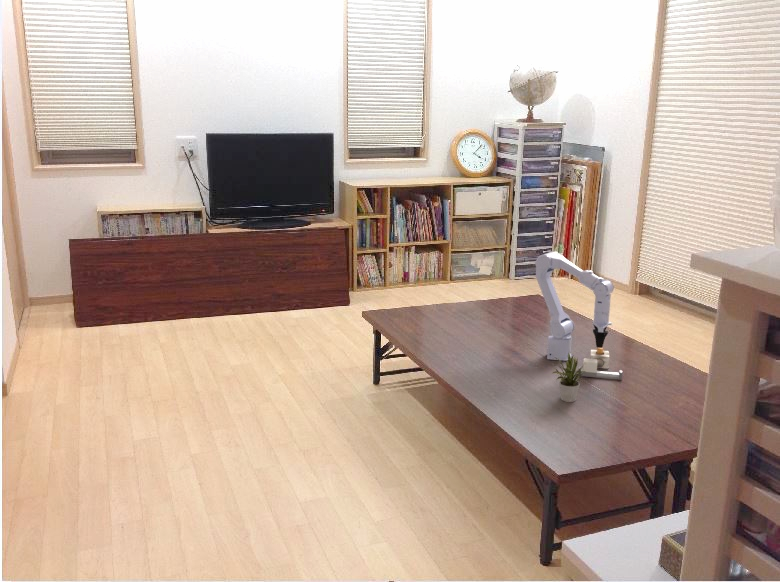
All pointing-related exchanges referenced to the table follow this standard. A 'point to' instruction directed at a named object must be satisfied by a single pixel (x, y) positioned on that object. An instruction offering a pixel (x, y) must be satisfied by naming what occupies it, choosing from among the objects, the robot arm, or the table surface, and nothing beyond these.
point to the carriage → (590, 367)
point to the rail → (605, 374)
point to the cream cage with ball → (601, 359)
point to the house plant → (569, 379)
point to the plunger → (599, 350)
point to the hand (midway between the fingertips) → (599, 344)
